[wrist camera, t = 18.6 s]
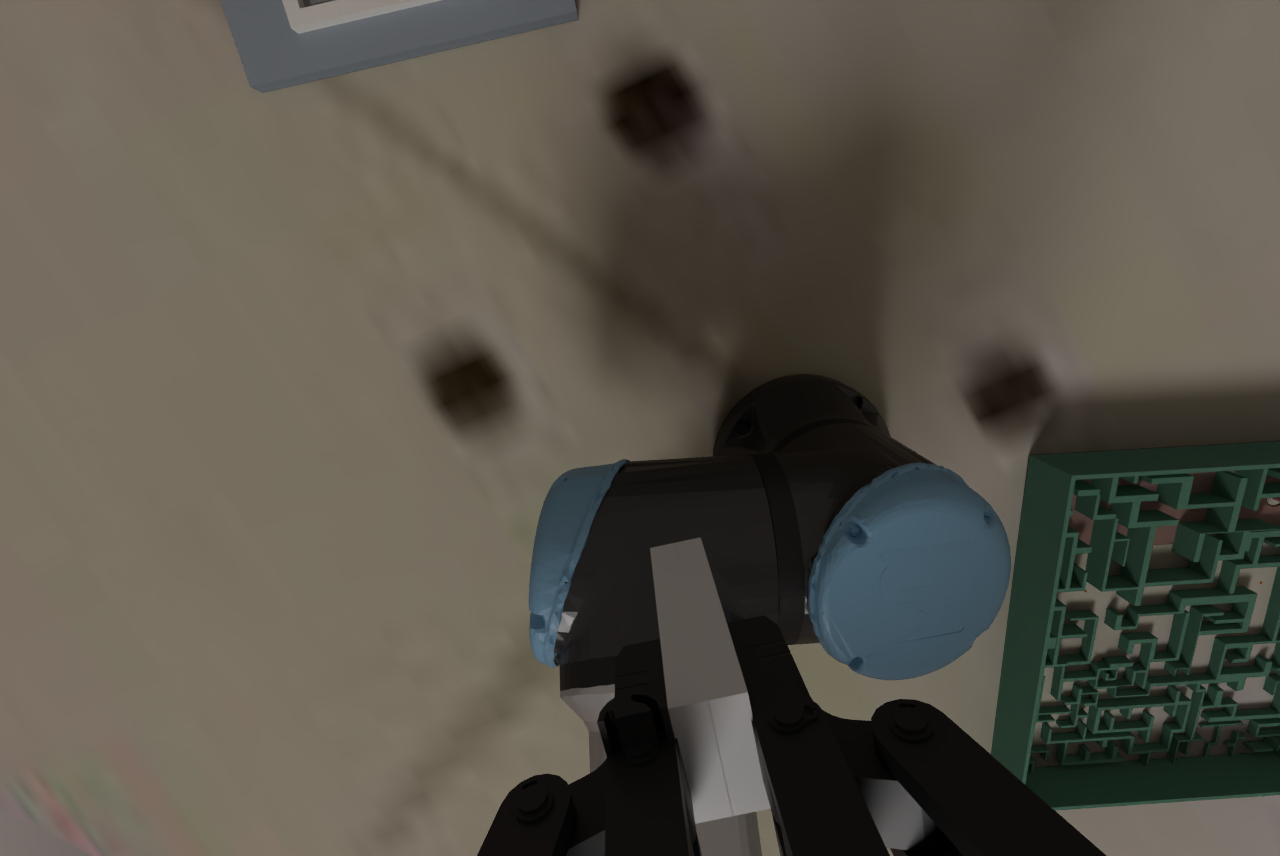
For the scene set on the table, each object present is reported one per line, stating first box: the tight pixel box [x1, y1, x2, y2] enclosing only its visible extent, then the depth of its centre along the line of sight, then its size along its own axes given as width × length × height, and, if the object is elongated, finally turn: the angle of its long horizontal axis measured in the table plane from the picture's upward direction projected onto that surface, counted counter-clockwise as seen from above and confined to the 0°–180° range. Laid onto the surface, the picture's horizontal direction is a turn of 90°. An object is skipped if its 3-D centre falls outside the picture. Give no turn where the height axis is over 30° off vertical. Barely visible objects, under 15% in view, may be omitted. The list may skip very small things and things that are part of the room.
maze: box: [991, 441, 1280, 810], centre depth 57 cm, size 35×35×6 cm
